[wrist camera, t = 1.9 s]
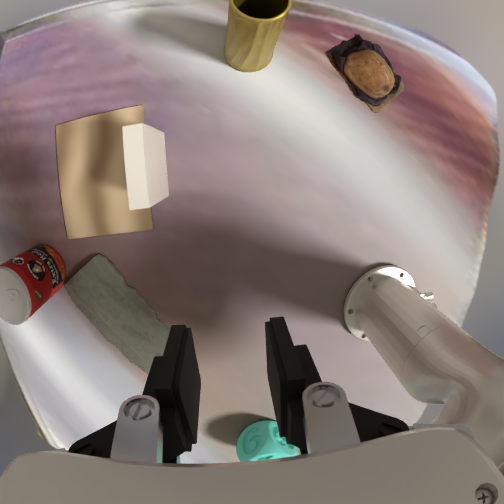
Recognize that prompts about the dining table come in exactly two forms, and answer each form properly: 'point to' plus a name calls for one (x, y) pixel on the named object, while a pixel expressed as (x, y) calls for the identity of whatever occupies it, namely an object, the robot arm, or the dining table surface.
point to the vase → (253, 32)
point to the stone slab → (118, 312)
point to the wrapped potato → (367, 72)
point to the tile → (145, 165)
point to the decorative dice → (263, 443)
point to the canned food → (29, 282)
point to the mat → (97, 175)
